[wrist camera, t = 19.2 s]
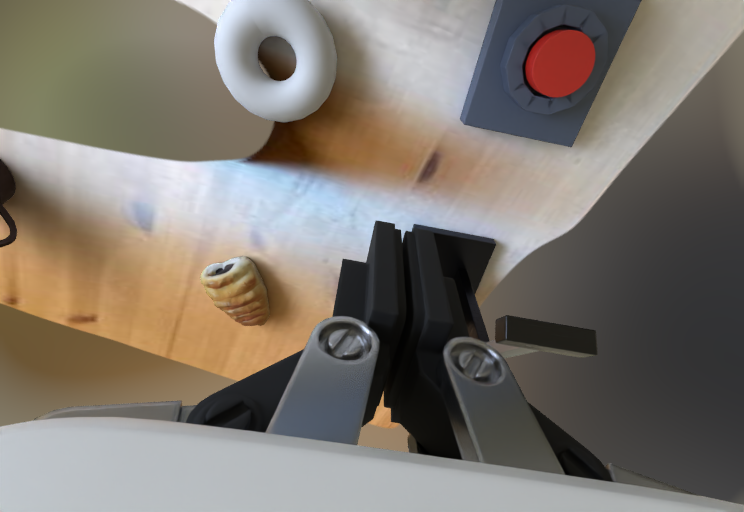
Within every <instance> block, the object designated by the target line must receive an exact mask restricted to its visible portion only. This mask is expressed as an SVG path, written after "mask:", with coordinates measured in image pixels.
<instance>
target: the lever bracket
mask: <svg viewBox="0 0 744 512" xmlns="http://www.w3.org/2000/svg"><path fill="white" fill-rule="evenodd" d="M413 228H419V229H424V230H430V231H433V233H434V237H435V242H436V246H437V251H438V255H439V260H440V264H441V269H442V273H443V277H448V278H452V279H454V281H455V284H456V287H457V291H458V295H459V299H460V303H461V306H462V310H463V314H464V318H465V322H466V325H467V329H468V333H469V337H472V338H476V339H479V340H481V341H484V342H489V338H488V335H487V331H486V328H485V325H484V322H483V319H482V316H481V313H480V310H479V307H478V304H477V300H476V297H475V293H476V290H477V288H478V286H479V283H480V281H481V279H482V276H483V274H484V272H485V269H486V267H487V265H488V262H489V260H490V258H491V255H492V253H493V251H494V248H495V246H496V243H495V241H494V239H490V238H485V237H480V236H474V235H469V234H464V233H459V232H453V231H448V230H443V229H437V228H432V227H427V226H421V225H416V224H414V225H413ZM412 230H413V229H412Z"/></svg>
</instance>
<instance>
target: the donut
mask: <svg viewBox="0 0 744 512" xmlns="http://www.w3.org/2000/svg"><path fill="white" fill-rule="evenodd" d="M271 36H278V37H281V38H283V39H285V40H286V41H287V42H288V43H289V44H290V45H291V46H292V48H293V50H294V51H295V55H296V59H297V66H296V69H295V72H294V74H293V75H292V76H291V77H290V78H288V79H287V80H284V81H275V80H273V79H271V78H269V77H268V76H267V75H266V74H265V73H264V72H263V70H262V69H261V67H260V65H259V62H258V49H259V45H260V44H261V42H262V41H263V40H264V39H266V38H267V37H271ZM214 43H215V54H216V63H217V65H218V68H219V71H220V74H221V77H222V79H223V82H224V83H225V85H226V86H227V88H228V89H229V91H230V92H231V94H232V95H233V97H234V98H235V99H236V100H237V101H238V102H239V103H240V104H242V105H243V106H244V107H245V108H246V109H247V110H249V111H250V112H251V113H253V114H256V115H258V116H260V117H262V118H264V119H266V120H271V121H278V122H289V121H294V120H299V119H303V118H305V117H306V116H308V115H310V114H312V113H313V112H315V111H317V110H318V109H319V107H320V106H321V105H322V104H323V103H324V101H325V100H326V99H327V98H328V97H329V94H330V92H331V89H332V87H333V84H334V81H335V79H336V67H337V54H336V49H335V45H334V40H333V35H332V34H331V32H330V30H329V28H328V26H327V24H326V22H325V20H324V18H323V16H322V15H321V14H320V13H319V12H318V11H317V9H316V8H315V7H314V6H313V5H312V4H311V3H310V2H309V1H308V0H231V1H230V2H229V3H228V5H227V7H226V8H225V10H224V12H223V13H222V15H221V17H220V18H219V20H218V25H217V30H216V35H215V40H214Z"/></svg>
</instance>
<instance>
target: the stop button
mask: <svg viewBox="0 0 744 512" xmlns="http://www.w3.org/2000/svg"><path fill="white" fill-rule="evenodd" d="M594 63H595V48H594V45H593V43H592V41H591V39H590V38H589V37H588V36H587V35H586V34H584V33H582V32H580V31H576V30H556V31H552V32H550V33H548V34H546V35H544V36H543V37H542V38H541V39H539V40H538V41H537V42H536V44H535V45H534V46H533V48H532V49H531V51H530V53H529V55H528V57H527V61H526V66H525V73H526V78H527V81H528V83H529V84H530V86H531V87H532V88H533V89H534V90H536V91H537V92H539V93H542V94H544V95H546V96H549V97H563V96H566V95H569V94H571V93H573V92H574V91H576V90H577V89H579V88H580V87H581V86H582V85H583V84H584V83H585V81H586V80H587V79H588V77H589V76H590V74H591V72H592V69H593V67H594Z"/></svg>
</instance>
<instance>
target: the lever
mask: <svg viewBox="0 0 744 512" xmlns="http://www.w3.org/2000/svg"><path fill="white" fill-rule="evenodd" d="M495 333H496V334H495V340H493V341H489V342H486V343H487V344H489V345H491V346H492V347H494V348H495V349H496V350H497V351H498V352H499V353H500V354H501V355H502V356H503V358H507V357H512V356H517V355H522V354H527V353H531V352H536V351H545V352H551V353H557V354H563V355H569V356H575V357H581V358H582V357H588V356H595V355H597V341H596V331H594V330H589V329H583V328H578V327H572V326H567V325H561V324H555V323H549V322H543V321H538V320H532V319H526V318H520V317H514V316H509V315H506V316H504V317H501V318H499V319H497V320H496V332H495Z"/></svg>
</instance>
